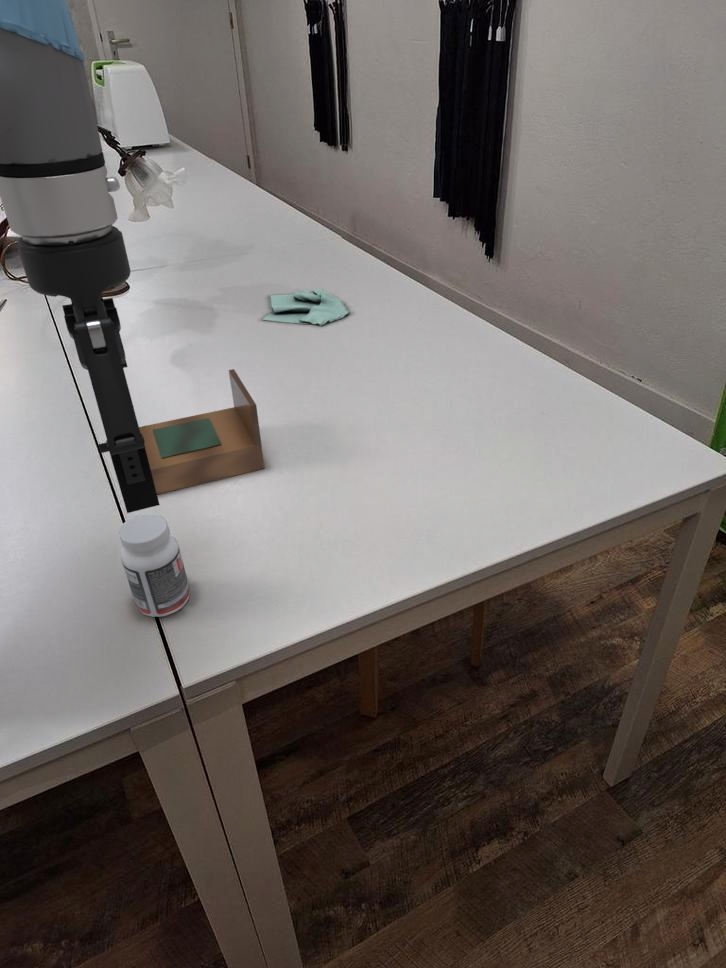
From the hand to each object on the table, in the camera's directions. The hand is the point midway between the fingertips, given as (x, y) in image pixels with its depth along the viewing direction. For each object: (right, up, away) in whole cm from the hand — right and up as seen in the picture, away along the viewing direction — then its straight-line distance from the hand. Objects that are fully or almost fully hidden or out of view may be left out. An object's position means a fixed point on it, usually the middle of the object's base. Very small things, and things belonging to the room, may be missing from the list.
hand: (132, 467), depth 61 cm
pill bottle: (0, -14, +9) cm, 17 cm away
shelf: (-2, +2, +32) cm, 32 cm away
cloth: (+9, +37, +82) cm, 90 cm away
